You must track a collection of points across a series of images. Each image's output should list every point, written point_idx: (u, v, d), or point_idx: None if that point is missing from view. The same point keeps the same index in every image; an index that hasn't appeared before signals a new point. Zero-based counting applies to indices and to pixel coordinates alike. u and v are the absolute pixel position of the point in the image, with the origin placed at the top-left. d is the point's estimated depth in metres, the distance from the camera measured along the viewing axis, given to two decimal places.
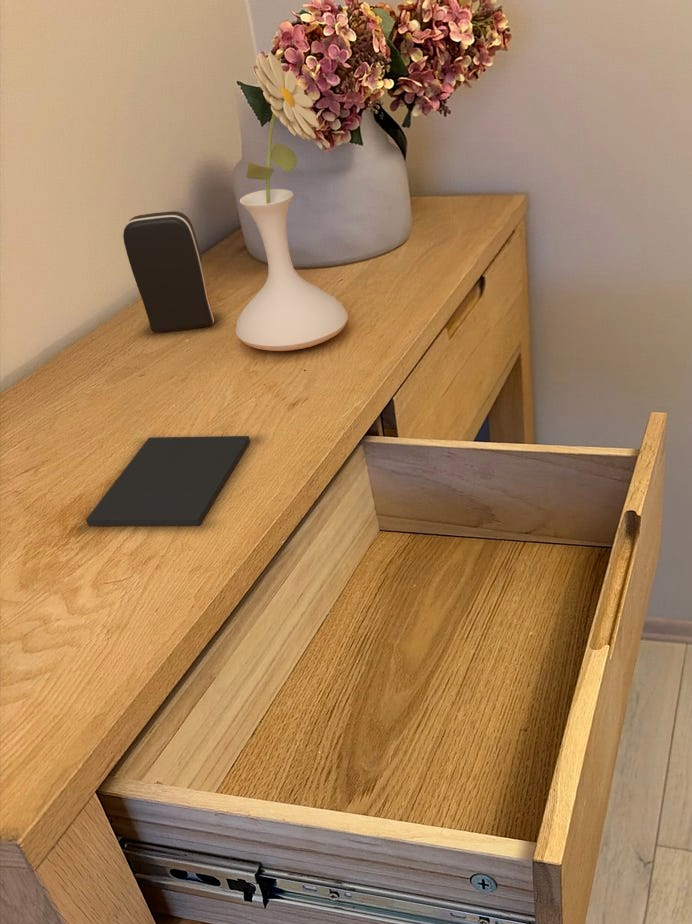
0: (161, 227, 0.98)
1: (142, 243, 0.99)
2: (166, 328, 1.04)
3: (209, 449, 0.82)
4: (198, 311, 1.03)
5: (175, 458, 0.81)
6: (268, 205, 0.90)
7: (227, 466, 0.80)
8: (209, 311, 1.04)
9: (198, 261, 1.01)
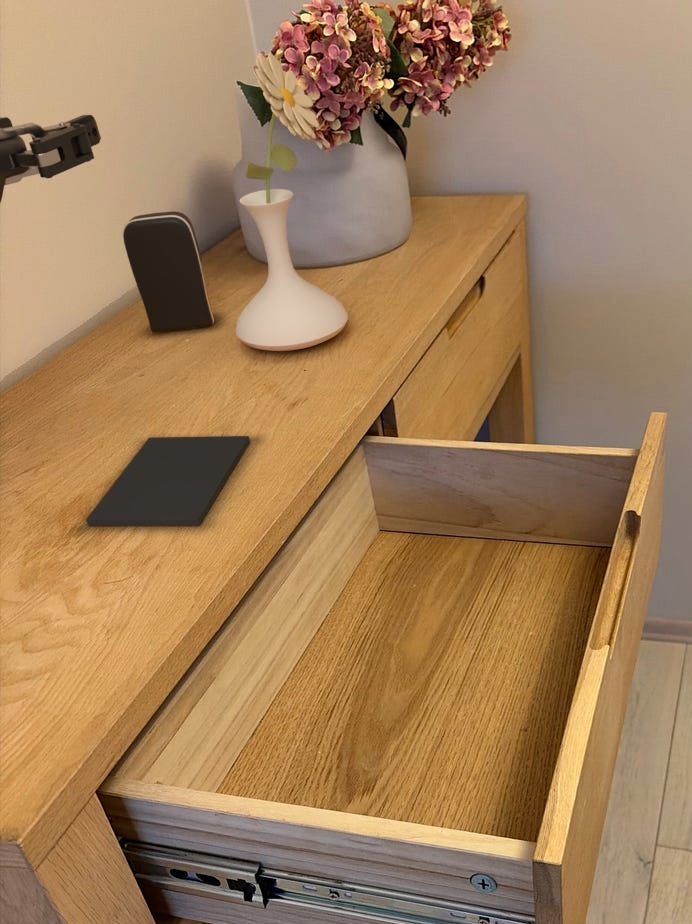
0: (161, 227, 0.98)
1: (142, 243, 0.99)
2: (166, 328, 1.04)
3: (209, 449, 0.82)
4: (198, 311, 1.03)
5: (175, 458, 0.81)
6: (268, 205, 0.90)
7: (227, 466, 0.80)
8: (209, 311, 1.04)
9: (198, 261, 1.01)
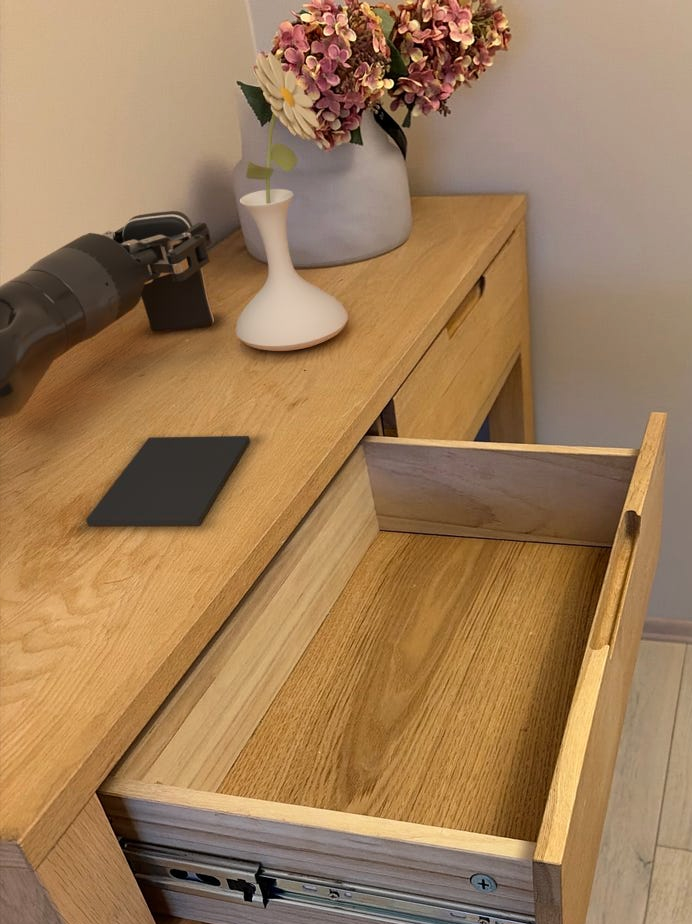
0: (161, 226, 0.98)
1: None
2: (166, 328, 1.04)
3: (209, 449, 0.82)
4: (198, 311, 1.03)
5: (175, 458, 0.81)
6: (268, 205, 0.90)
7: (227, 466, 0.80)
8: (209, 311, 1.04)
9: None
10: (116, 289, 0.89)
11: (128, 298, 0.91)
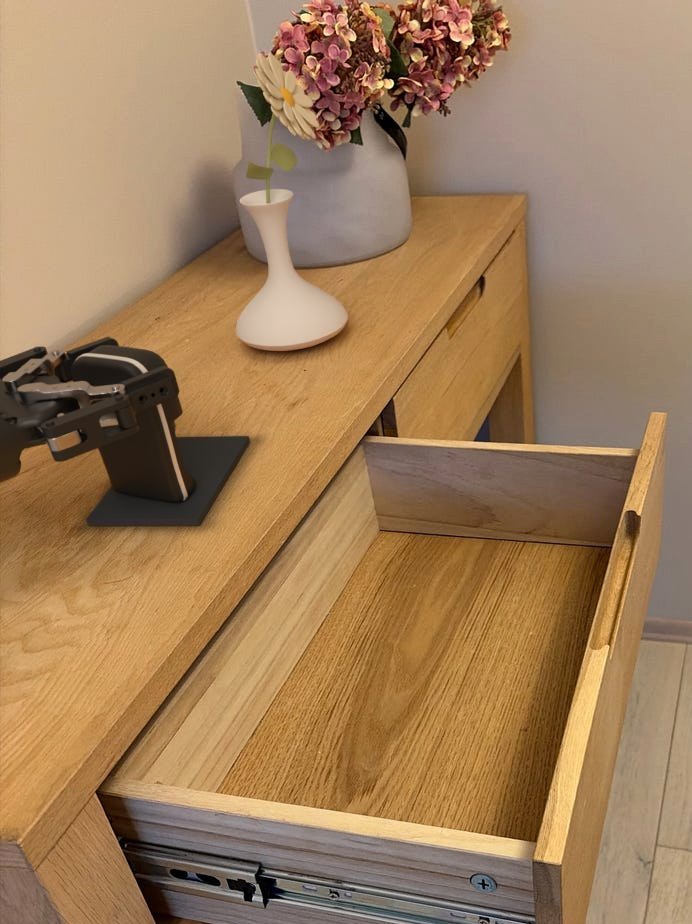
0: (110, 373, 0.69)
1: None
2: (127, 492, 0.76)
3: (209, 449, 0.82)
4: (161, 483, 0.74)
5: None
6: (268, 205, 0.90)
7: (227, 466, 0.80)
8: (177, 486, 0.74)
9: (160, 423, 0.71)
10: None
11: None
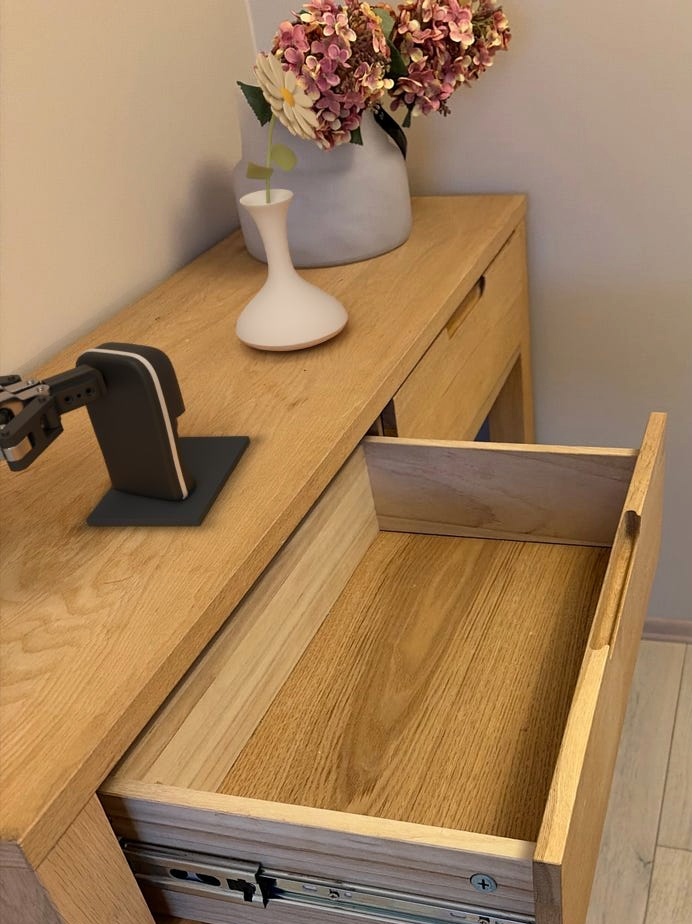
0: (114, 368, 0.69)
1: None
2: (127, 490, 0.76)
3: (209, 449, 0.82)
4: (161, 481, 0.74)
5: None
6: (268, 205, 0.90)
7: (227, 466, 0.80)
8: (177, 484, 0.74)
9: (162, 419, 0.71)
10: None
11: None
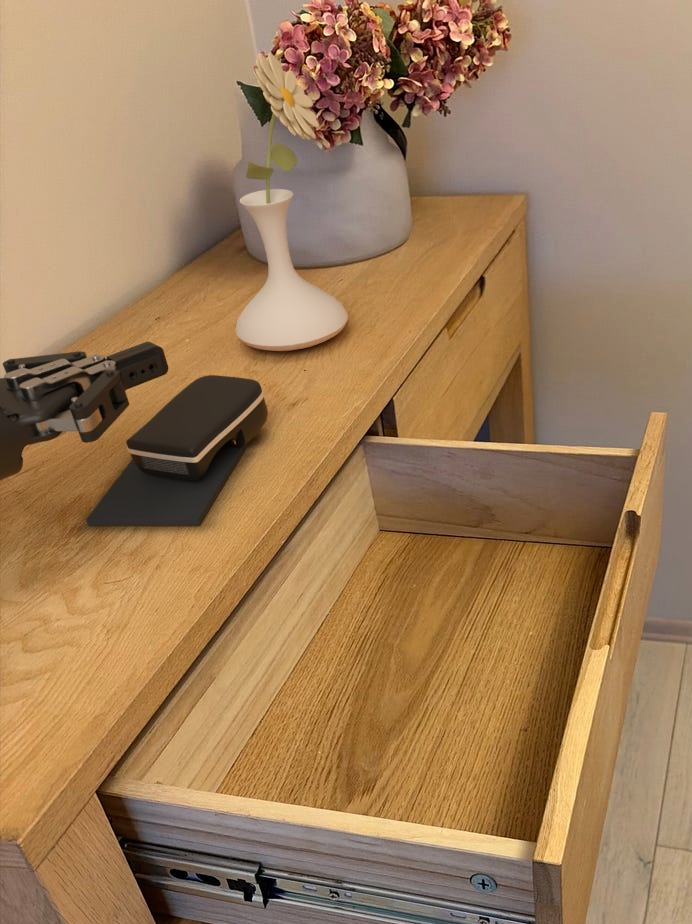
0: (236, 380, 0.82)
1: (205, 385, 0.82)
2: (143, 441, 0.77)
3: None
4: (192, 437, 0.76)
5: None
6: (268, 205, 0.90)
7: (227, 466, 0.80)
8: (203, 445, 0.76)
9: (240, 411, 0.79)
10: None
11: None
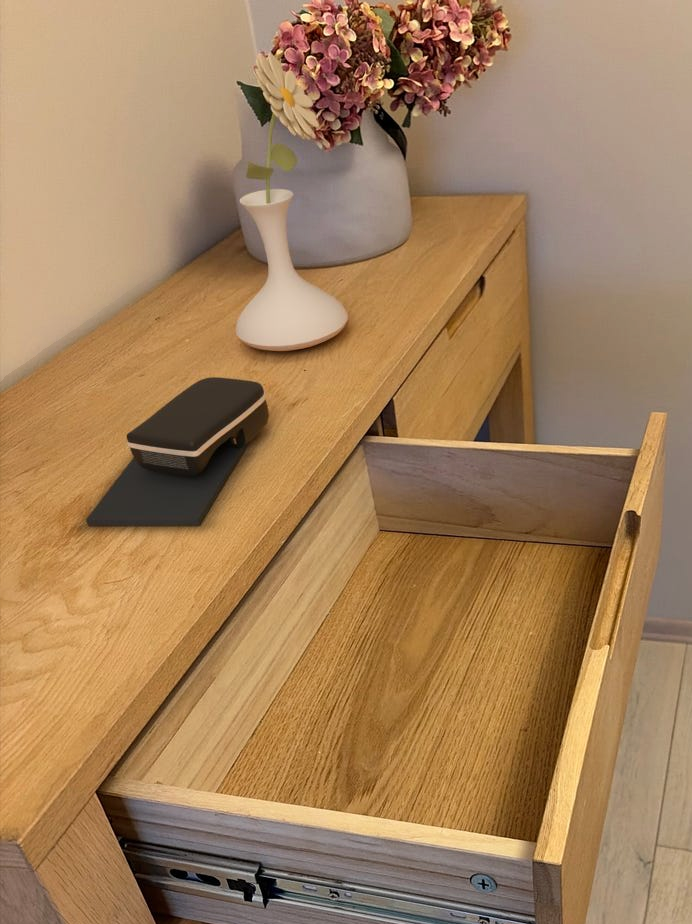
0: (239, 382, 0.83)
1: (208, 386, 0.83)
2: (143, 434, 0.77)
3: None
4: (193, 432, 0.76)
5: None
6: (268, 205, 0.90)
7: (227, 466, 0.80)
8: (204, 440, 0.76)
9: (242, 410, 0.80)
10: None
11: None
